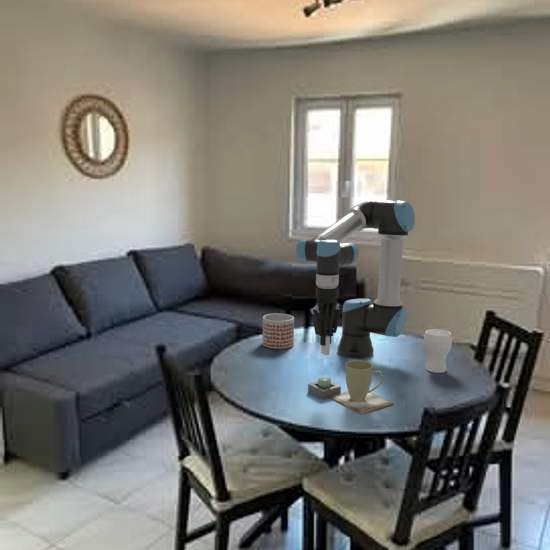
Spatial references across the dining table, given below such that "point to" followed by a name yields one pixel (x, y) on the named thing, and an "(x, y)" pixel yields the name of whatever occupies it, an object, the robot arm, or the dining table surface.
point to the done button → (324, 382)
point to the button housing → (323, 390)
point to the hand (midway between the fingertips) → (325, 354)
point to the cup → (437, 349)
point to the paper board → (362, 402)
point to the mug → (360, 379)
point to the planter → (278, 331)
